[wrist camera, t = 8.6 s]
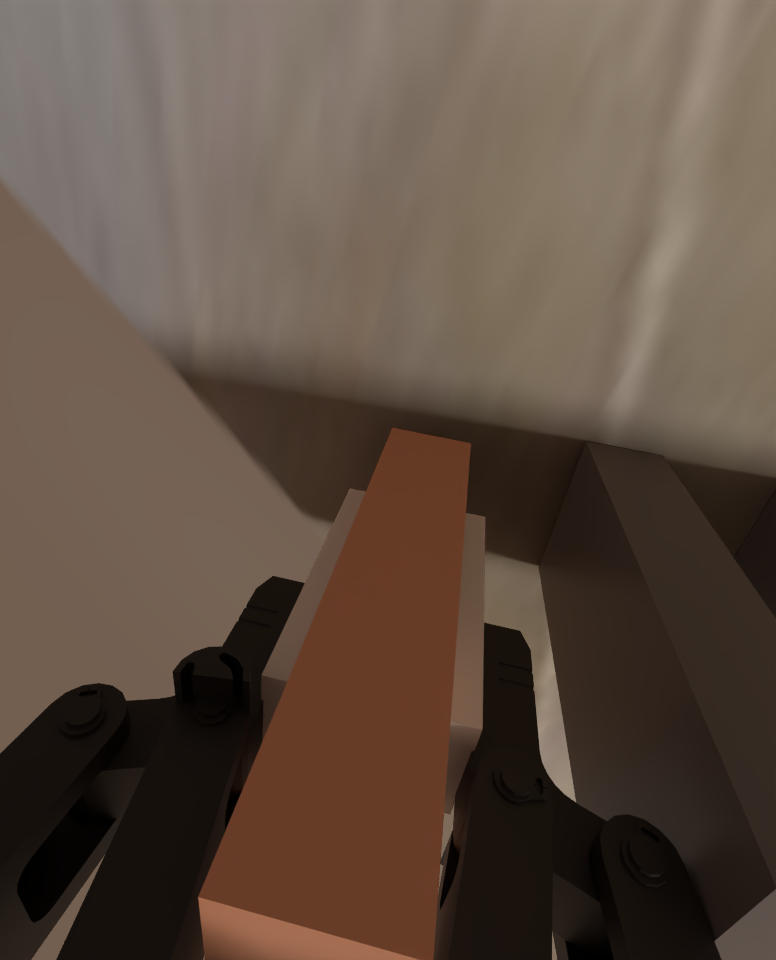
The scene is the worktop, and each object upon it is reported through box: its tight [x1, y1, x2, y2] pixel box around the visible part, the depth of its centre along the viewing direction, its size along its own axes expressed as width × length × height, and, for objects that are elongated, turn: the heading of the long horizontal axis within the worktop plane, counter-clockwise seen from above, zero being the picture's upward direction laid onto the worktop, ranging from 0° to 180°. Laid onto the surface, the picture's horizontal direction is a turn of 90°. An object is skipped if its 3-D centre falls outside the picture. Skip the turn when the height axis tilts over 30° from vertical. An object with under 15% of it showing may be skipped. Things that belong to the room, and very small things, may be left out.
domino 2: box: [539, 441, 776, 960], centre depth 12 cm, size 2×5×12 cm, turn 173°
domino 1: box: [198, 428, 471, 960], centre depth 12 cm, size 2×5×12 cm, turn 173°
